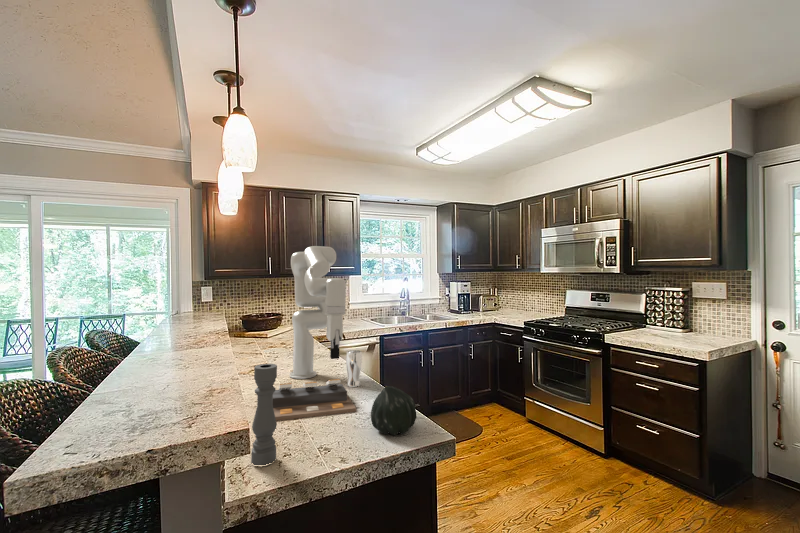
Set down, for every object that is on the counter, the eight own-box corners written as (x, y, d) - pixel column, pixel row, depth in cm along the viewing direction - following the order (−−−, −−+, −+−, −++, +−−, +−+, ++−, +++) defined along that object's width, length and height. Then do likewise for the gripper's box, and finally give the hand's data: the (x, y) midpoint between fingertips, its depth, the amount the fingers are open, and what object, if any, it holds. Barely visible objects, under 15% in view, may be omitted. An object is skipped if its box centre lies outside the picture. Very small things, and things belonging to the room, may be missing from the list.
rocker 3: (326, 385, 147) (326, 381, 148) (337, 384, 149) (337, 380, 149) (329, 383, 140) (329, 379, 141) (340, 382, 142) (340, 378, 142)
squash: (427, 407, 123) (398, 372, 125) (420, 427, 109) (388, 387, 111) (396, 432, 126) (368, 397, 128) (385, 454, 111) (354, 414, 113)
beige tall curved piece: (362, 383, 168) (363, 350, 168) (359, 387, 161) (360, 353, 161) (347, 382, 168) (348, 349, 168) (344, 387, 161) (344, 352, 162)
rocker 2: (302, 386, 144) (302, 382, 145) (314, 385, 146) (314, 381, 146) (304, 386, 137) (304, 382, 137) (316, 385, 138) (316, 381, 139)
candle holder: (261, 469, 93) (263, 370, 94) (246, 462, 96) (248, 366, 97) (281, 459, 98) (283, 365, 99) (265, 453, 102) (267, 362, 102)
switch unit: (268, 399, 144) (268, 384, 144) (344, 392, 154) (344, 378, 154) (267, 421, 123) (268, 403, 123) (355, 411, 133) (356, 395, 133)
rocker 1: (278, 389, 141) (278, 385, 142) (290, 388, 142) (290, 384, 143) (279, 388, 134) (279, 383, 134) (292, 387, 135) (292, 382, 136)
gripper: (323, 309, 148) (322, 354, 148) (328, 312, 134) (327, 363, 133) (341, 308, 151) (340, 353, 150) (349, 312, 136) (348, 362, 136)
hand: (334, 358), depth 142 cm, fingers closed
